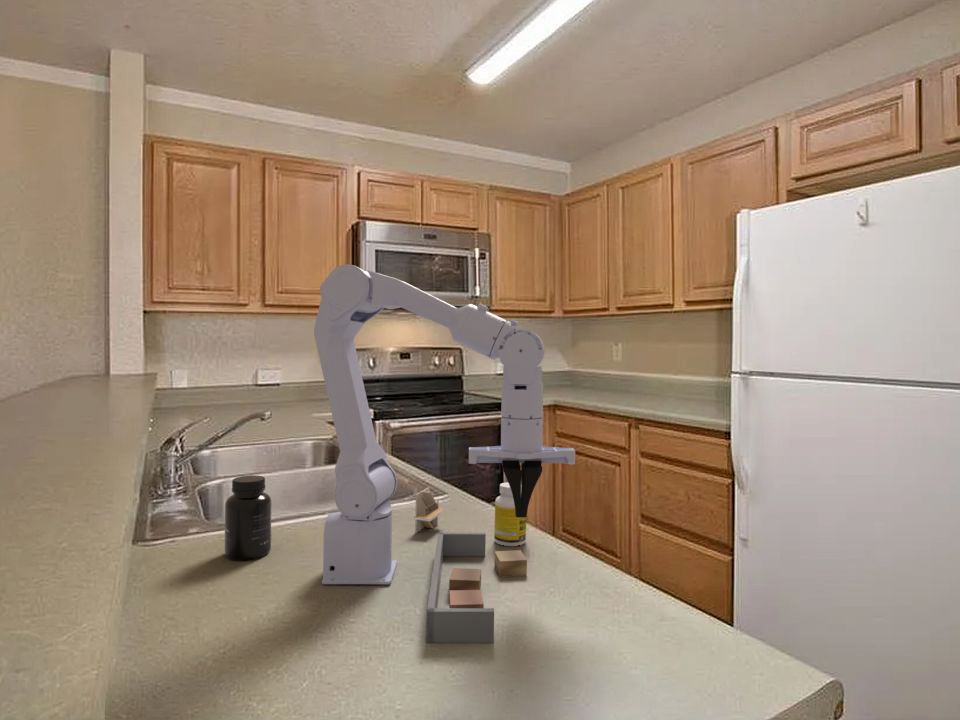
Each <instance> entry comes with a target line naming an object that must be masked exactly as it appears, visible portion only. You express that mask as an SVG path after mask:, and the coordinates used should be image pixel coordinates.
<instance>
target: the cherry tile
mask: <svg viewBox="0 0 960 720" xmlns="http://www.w3.org/2000/svg"><path fill="white" fill-rule="evenodd" d="M448 597H449V598H448V599H449V601H448V602H449V605H448V606H449V607H448V608H485V606H484V604H485V603H484V599H483V593H482V589H480V590H450V593H449V592H448Z"/></svg>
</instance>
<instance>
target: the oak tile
mask: <svg viewBox="0 0 960 720" xmlns="http://www.w3.org/2000/svg"><path fill="white" fill-rule="evenodd" d="M494 569H495V570H496V572H497V574H498V576H499V577H500V578H503V577H502V576H509V577H519V576H518V575H527V574H528V559H527V558H526V556H525V555H524V553H523V552H522V550H521V549H519V550H495V551H494ZM527 576H528V575H527Z"/></svg>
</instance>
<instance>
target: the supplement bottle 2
mask: <svg viewBox="0 0 960 720" xmlns="http://www.w3.org/2000/svg"><path fill="white" fill-rule="evenodd" d="M499 494H500V495H499V496H497V497H496V498H495V501H494V502H495V503H494V530H493V531H494V533H493V535H494V536H493V537H494V542H495V543H496V544H497V545H499V544H500V546H503V545H504V546H503V547H519V546H518V545H520V546H523V545H524V544H525V543H526V541H527V517H516V514H515V505H514V499H513V495H512V491H511V488H510V485H509V483H508V481H507V482H502V483H500V484H499Z"/></svg>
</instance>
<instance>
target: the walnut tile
mask: <svg viewBox="0 0 960 720" xmlns="http://www.w3.org/2000/svg"><path fill="white" fill-rule="evenodd" d="M481 585H482V568H465V567H464V568H463V567H452V569H451V572H450V575H449V583H448V589H449V590H448V594H449V593H450V590H481V588H482V586H481Z"/></svg>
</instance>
